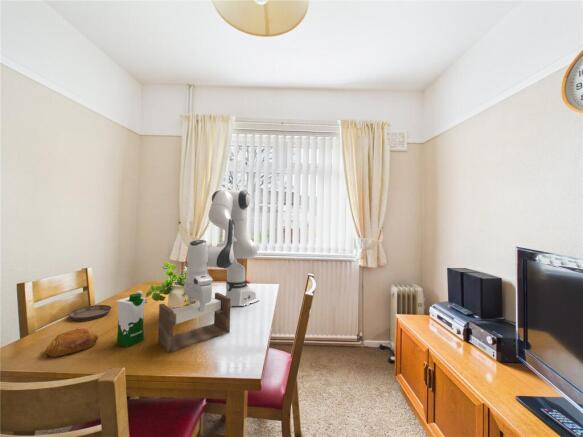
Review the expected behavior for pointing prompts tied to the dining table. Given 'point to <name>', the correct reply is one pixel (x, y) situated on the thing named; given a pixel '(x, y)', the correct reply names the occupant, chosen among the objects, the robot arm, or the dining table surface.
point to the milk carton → (130, 320)
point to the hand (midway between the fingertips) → (196, 308)
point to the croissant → (71, 342)
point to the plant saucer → (90, 312)
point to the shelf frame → (195, 335)
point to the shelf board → (194, 311)
